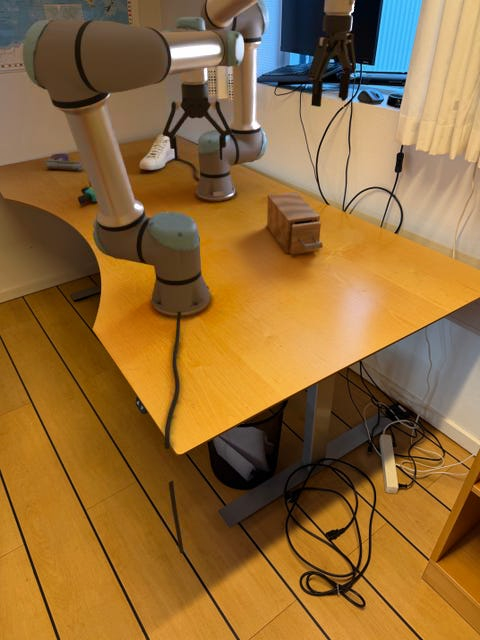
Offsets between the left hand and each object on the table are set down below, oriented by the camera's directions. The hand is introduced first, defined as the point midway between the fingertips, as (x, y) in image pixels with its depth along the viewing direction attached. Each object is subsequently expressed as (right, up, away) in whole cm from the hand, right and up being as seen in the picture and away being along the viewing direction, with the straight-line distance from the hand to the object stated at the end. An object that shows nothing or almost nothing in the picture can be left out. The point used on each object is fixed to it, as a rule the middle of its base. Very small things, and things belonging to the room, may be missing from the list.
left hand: (198, 159), depth 145 cm
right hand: (+38, +13, -9) cm, 42 cm away
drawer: (+31, -25, +5) cm, 40 cm away
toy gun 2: (-44, 0, +42) cm, 61 cm away
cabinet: (+29, -22, +11) cm, 38 cm away
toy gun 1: (-66, +21, +72) cm, 99 cm away
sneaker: (-25, +22, +72) cm, 80 cm away
